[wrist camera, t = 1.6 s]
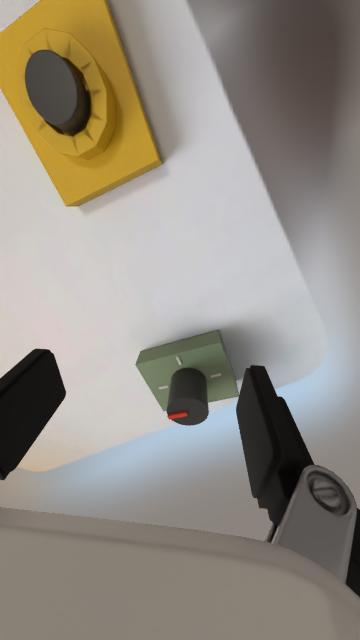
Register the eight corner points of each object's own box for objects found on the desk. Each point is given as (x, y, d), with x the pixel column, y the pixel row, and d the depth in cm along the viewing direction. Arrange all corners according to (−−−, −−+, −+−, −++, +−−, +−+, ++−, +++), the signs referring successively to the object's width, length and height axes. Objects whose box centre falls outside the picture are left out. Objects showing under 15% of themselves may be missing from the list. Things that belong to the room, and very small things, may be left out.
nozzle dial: (200, 363, 27) (201, 396, 23) (211, 389, 29) (214, 424, 25) (165, 372, 28) (159, 404, 24) (178, 396, 30) (175, 430, 26)
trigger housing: (103, -10, 15) (75, -76, 12) (162, 164, 20) (155, 155, 16) (2, 67, 17) (-47, 31, 14) (77, 206, 22) (54, 206, 18)
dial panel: (218, 329, 28) (220, 342, 25) (235, 381, 32) (239, 397, 30) (140, 351, 31) (134, 365, 28) (165, 396, 35) (163, 412, 32)
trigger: (71, 53, 14) (56, 34, 13) (98, 118, 16) (88, 109, 14) (31, 81, 15) (12, 67, 13) (61, 141, 17) (47, 134, 15)
